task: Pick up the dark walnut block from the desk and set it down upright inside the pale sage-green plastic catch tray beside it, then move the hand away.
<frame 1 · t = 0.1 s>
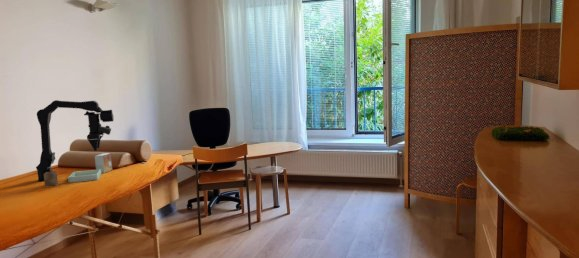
hand: (97, 149, 246), 15 cm above the table, tool pointing down, fingers open, 9 cm apart
catch tray: (85, 178, 240), on the table
walnut block: (51, 185, 226), on the table
small box: (104, 172, 256), on the table
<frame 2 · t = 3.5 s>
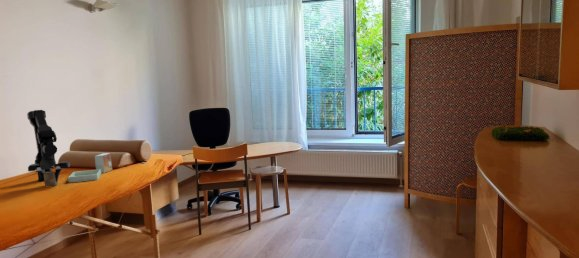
hand: (51, 182, 226), 2 cm above the table, tool pointing down, fingers closed on walnut block, 5 cm apart
walnut block: (51, 185, 226), on the table, touching gripper
everything else where it was.
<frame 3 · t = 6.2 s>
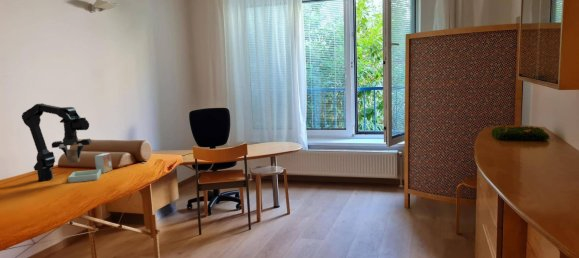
hand: (73, 158, 234), 12 cm above the table, tool pointing down, fingers closed on walnut block, 5 cm apart
walnut block: (73, 162, 234), point 10 cm above the table, touching gripper
everything else where it was.
when the fingers open (4 cm above the table, at t = 8.8 s): walnut block drops 2 cm, resting on catch tray.
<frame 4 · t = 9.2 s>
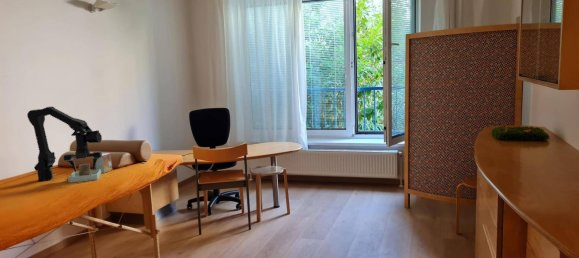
hand: (84, 170, 239), 4 cm above the table, tool pointing down, fingers open, 9 cm apart
walnut block: (85, 177, 239), point 1 cm above the table, touching catch tray
everything else where it was.
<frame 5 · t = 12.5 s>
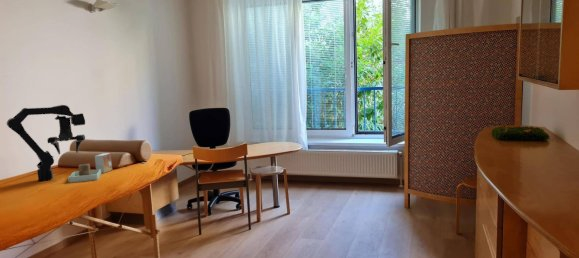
hand: (68, 153, 247), 13 cm above the table, tool pointing down, fingers open, 9 cm apart
nothing on the table moved.
at the end: walnut block inside the target area on the catch tray (0.1 cm from its centre), point 0.8 cm above the catch tray's base; walnut block tilted 0°; the gripper is holding nothing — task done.
